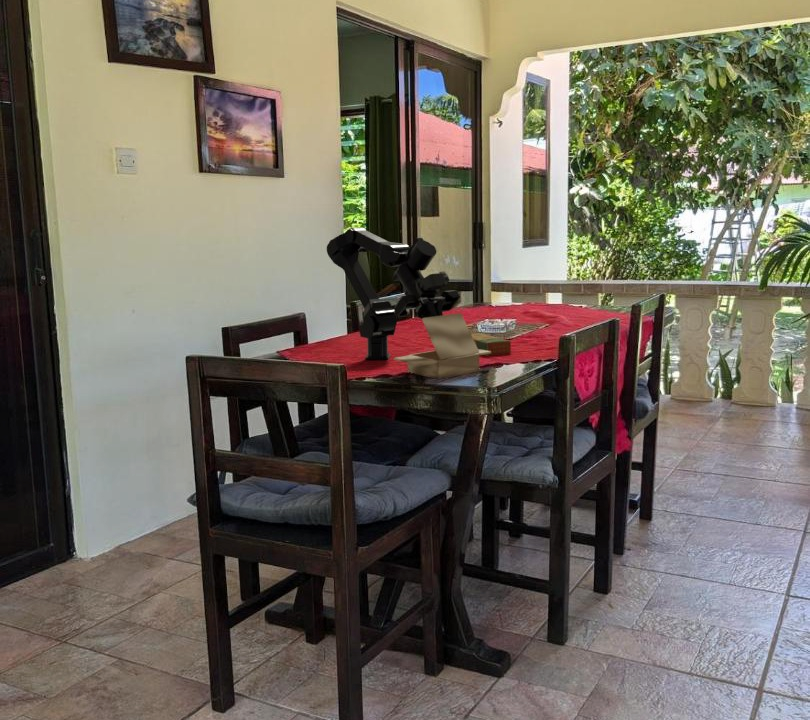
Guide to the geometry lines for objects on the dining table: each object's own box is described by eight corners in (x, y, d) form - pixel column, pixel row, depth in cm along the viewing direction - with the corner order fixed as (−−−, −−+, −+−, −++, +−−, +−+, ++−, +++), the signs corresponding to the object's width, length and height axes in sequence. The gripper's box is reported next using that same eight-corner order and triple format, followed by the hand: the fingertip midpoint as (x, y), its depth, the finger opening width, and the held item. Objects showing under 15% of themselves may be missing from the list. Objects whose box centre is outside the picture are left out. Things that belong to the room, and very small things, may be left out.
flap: (421, 319, 210) (422, 318, 210) (460, 313, 219) (461, 312, 218) (440, 359, 207) (441, 358, 207) (478, 353, 215) (479, 352, 215)
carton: (481, 346, 255) (482, 332, 255) (511, 354, 241) (511, 339, 240) (458, 348, 252) (458, 334, 251) (486, 357, 238) (487, 342, 237)
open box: (392, 374, 214) (392, 357, 213) (460, 362, 229) (460, 346, 228) (423, 382, 205) (423, 364, 204) (492, 368, 220) (492, 351, 219)
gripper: (400, 263, 210) (430, 311, 203) (454, 259, 221) (484, 304, 215) (381, 293, 217) (409, 340, 211) (435, 287, 229) (463, 331, 222)
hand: (443, 328), depth 215 cm, fingers closed
